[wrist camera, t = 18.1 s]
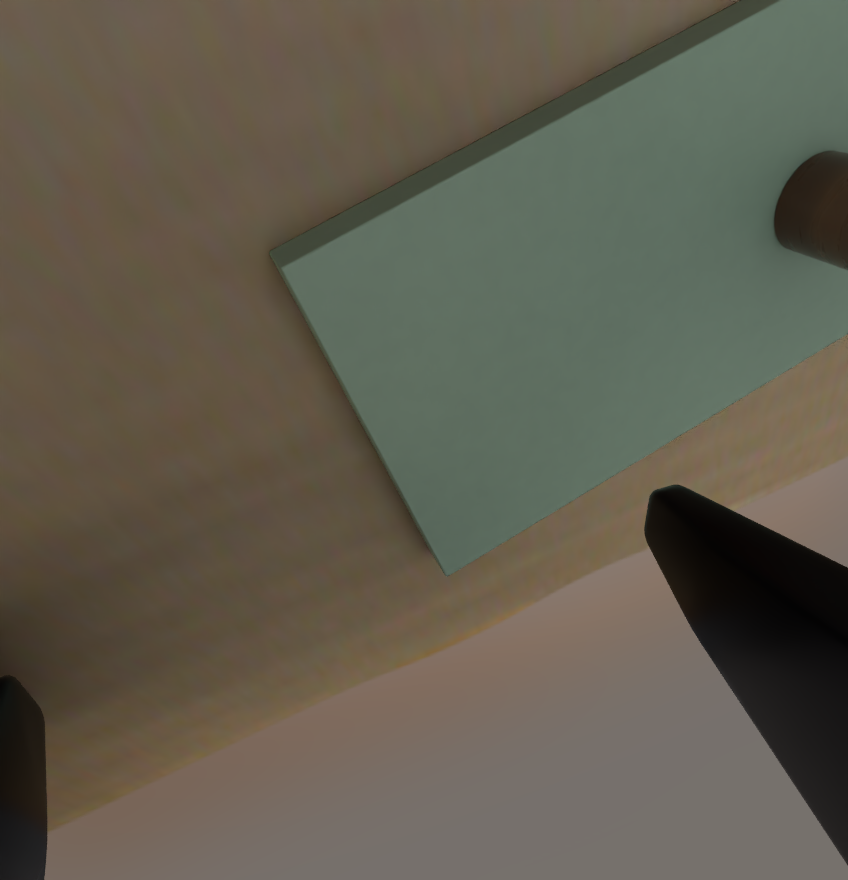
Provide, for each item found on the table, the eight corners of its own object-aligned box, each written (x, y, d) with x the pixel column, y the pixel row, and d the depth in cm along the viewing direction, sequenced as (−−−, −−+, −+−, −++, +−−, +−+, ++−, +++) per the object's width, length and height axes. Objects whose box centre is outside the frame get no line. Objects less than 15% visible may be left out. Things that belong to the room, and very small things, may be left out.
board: (430, 552, 26) (446, 577, 25) (267, 251, 18) (280, 268, 17) (888, 277, 29) (922, 289, 28) (921, -97, 21) (971, -103, 20)
